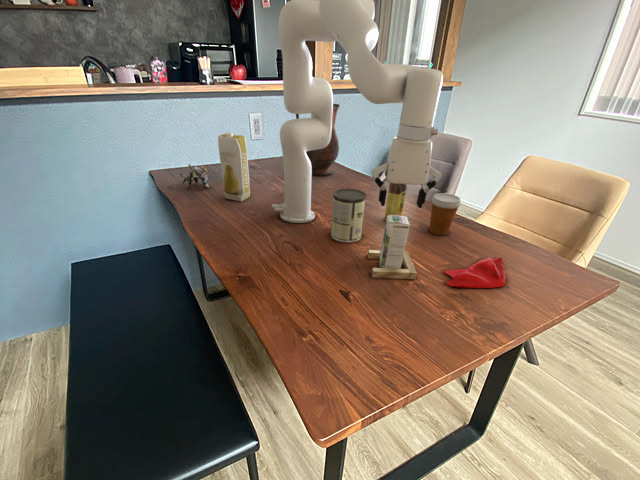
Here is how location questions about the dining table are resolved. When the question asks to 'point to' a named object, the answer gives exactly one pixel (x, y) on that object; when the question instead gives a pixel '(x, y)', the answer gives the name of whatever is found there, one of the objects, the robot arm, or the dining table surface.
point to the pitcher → (325, 151)
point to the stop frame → (404, 273)
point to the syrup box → (394, 242)
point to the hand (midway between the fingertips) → (400, 205)
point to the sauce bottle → (395, 199)
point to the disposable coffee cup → (443, 212)
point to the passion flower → (197, 176)
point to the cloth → (479, 275)
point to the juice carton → (234, 166)
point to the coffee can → (347, 215)
